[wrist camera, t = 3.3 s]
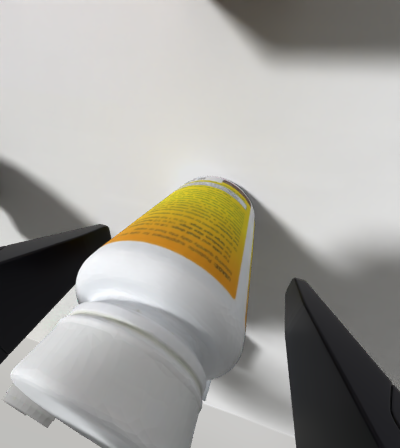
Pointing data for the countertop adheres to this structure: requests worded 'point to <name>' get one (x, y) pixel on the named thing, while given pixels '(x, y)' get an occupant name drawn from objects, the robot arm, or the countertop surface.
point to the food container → (27, 406)
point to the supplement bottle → (151, 322)
